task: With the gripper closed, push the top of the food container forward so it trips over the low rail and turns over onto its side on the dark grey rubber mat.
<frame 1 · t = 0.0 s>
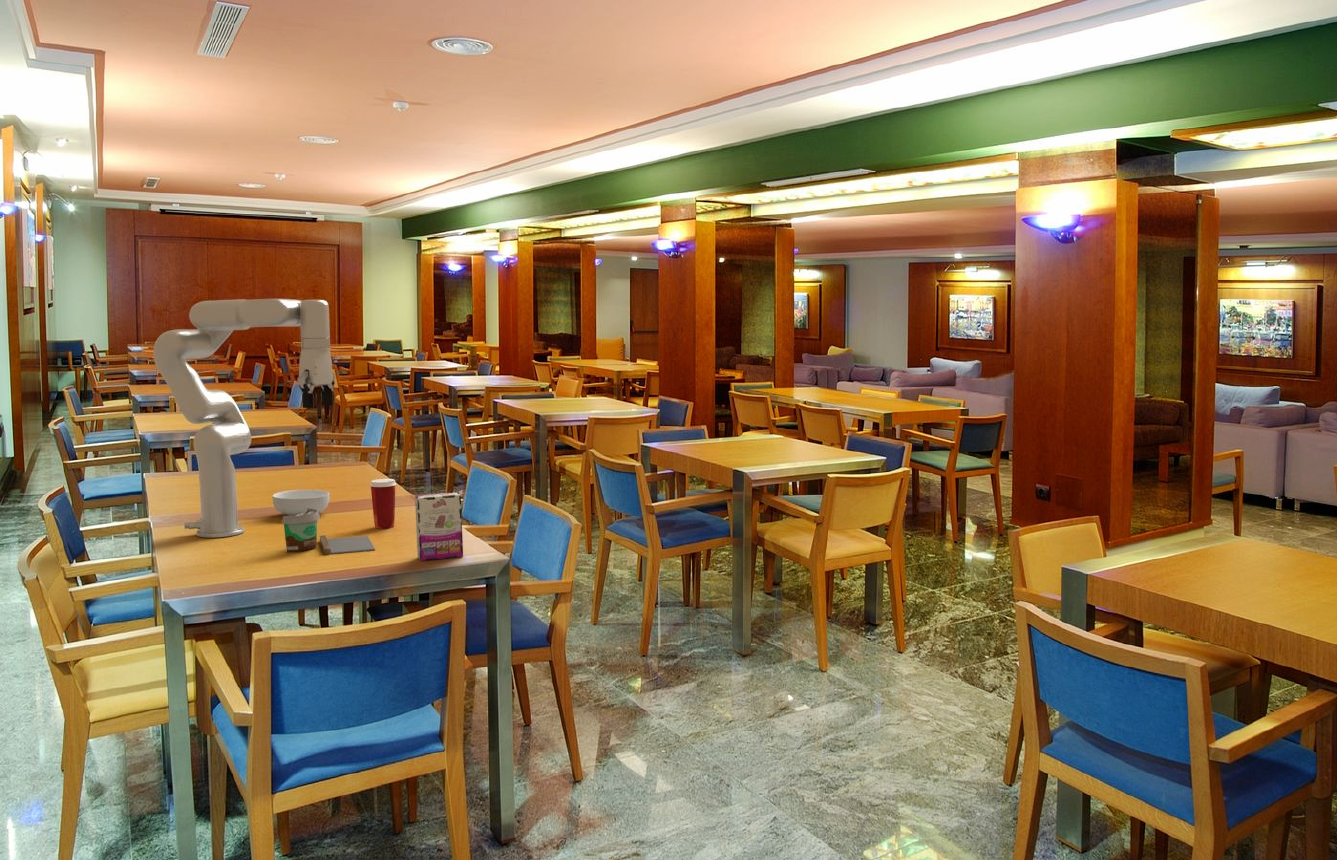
hand: (318, 406, 271), 37 cm above the table, tool pointing down, fingers open, 9 cm apart
food container: (307, 549, 262), on the table
paper cup: (384, 527, 290), on the table
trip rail: (325, 547, 263), on the table
mat: (350, 545, 266), on the table
cereal bowl: (302, 516, 309), on the table
candy bar box: (439, 558, 252), on the table
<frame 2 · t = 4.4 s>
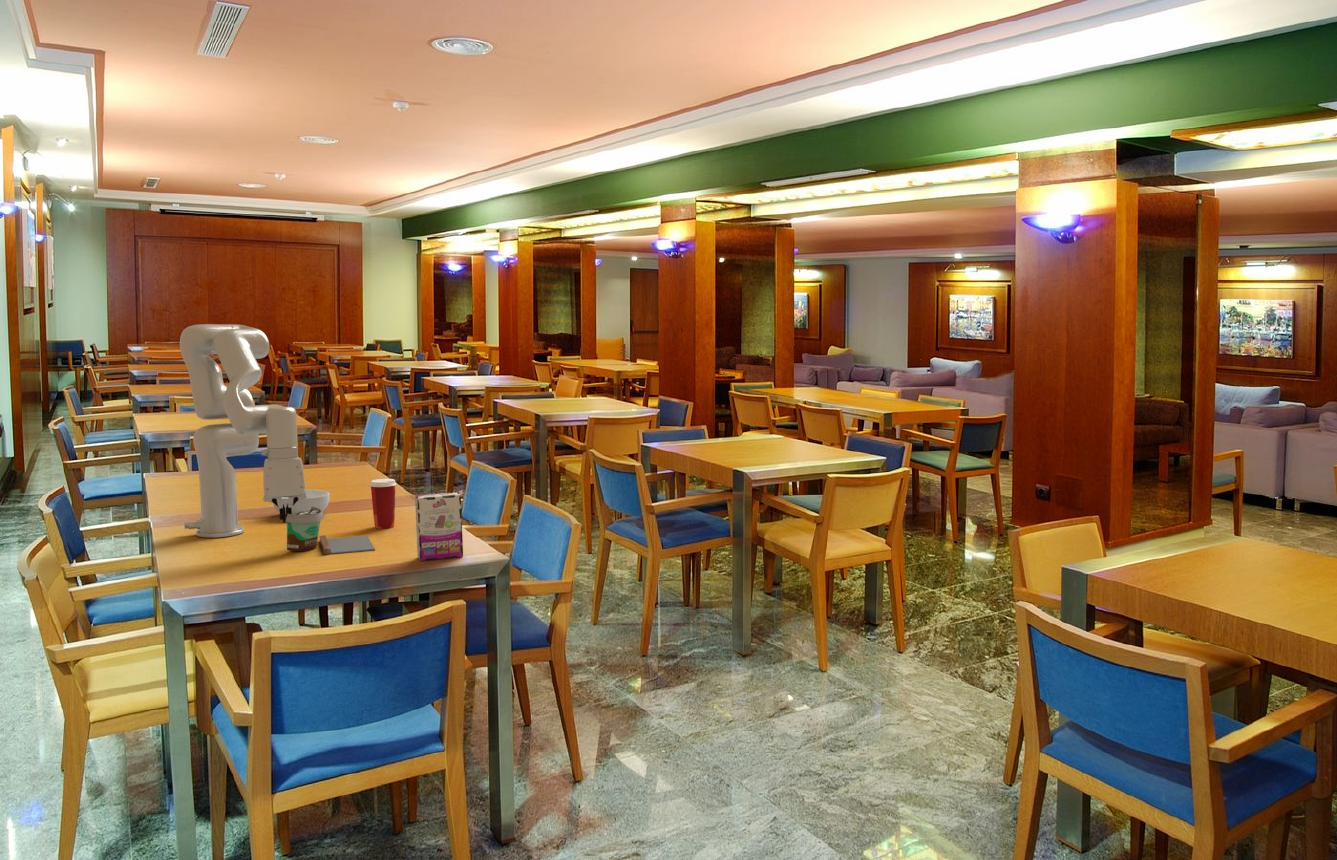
hand: (286, 522, 259), 8 cm above the table, tool pointing down, fingers closed
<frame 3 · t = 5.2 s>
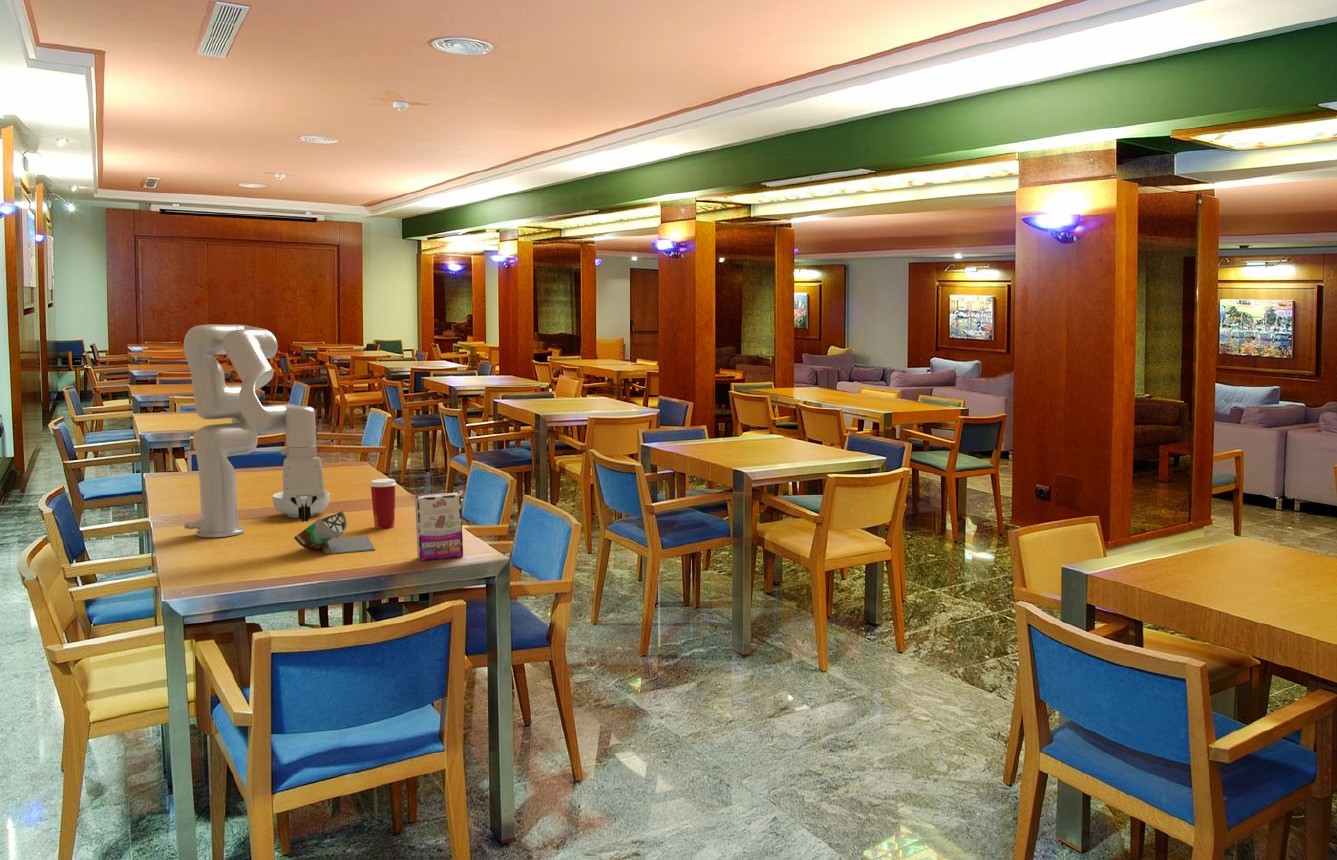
hand: (304, 520, 261), 8 cm above the table, tool pointing down, fingers closed
food container: (309, 543, 261), point 1 cm above the table
everything else where it was.
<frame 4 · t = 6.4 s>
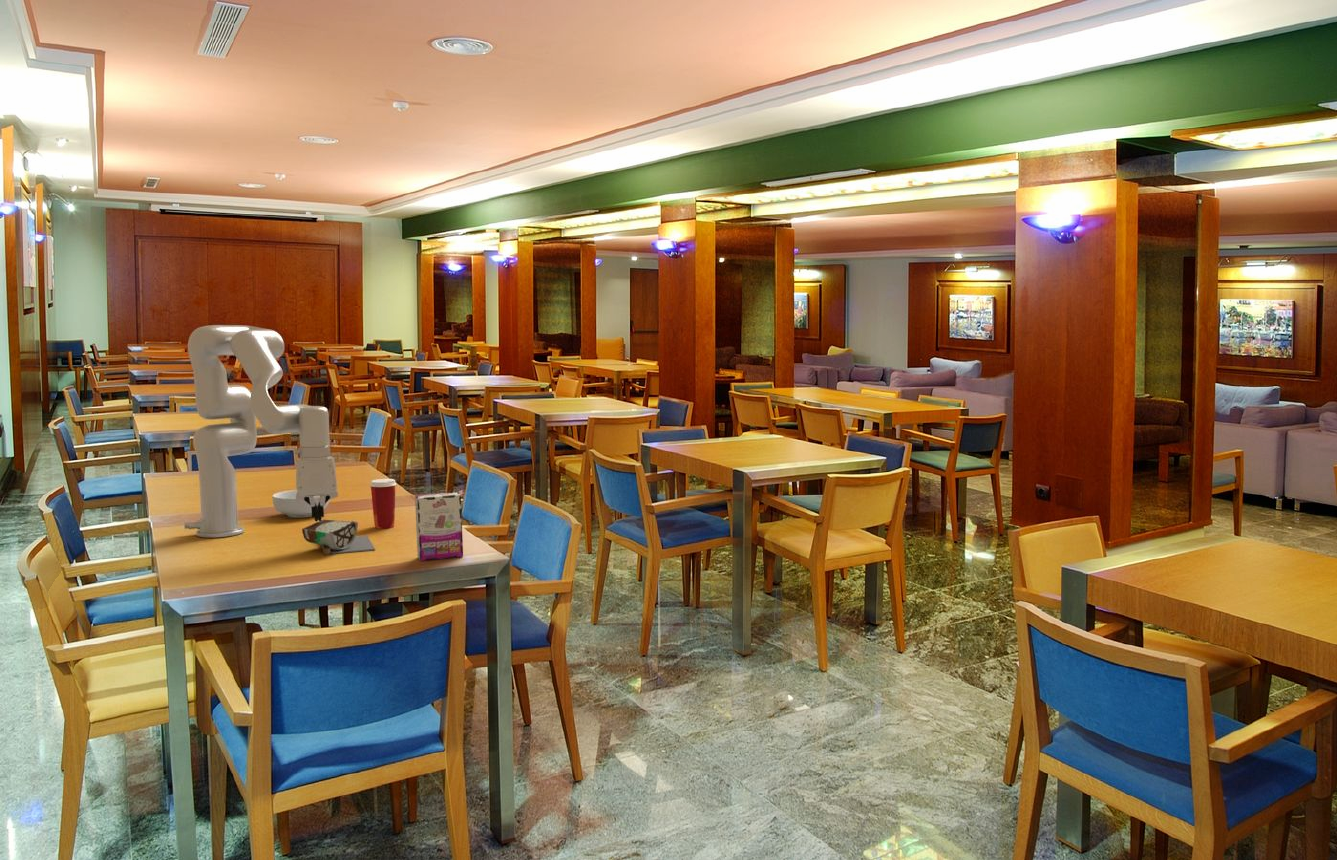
hand: (318, 520, 262), 8 cm above the table, tool pointing down, fingers closed
food container: (312, 535, 261), point 4 cm above the table, touching mat, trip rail
everything else where it was.
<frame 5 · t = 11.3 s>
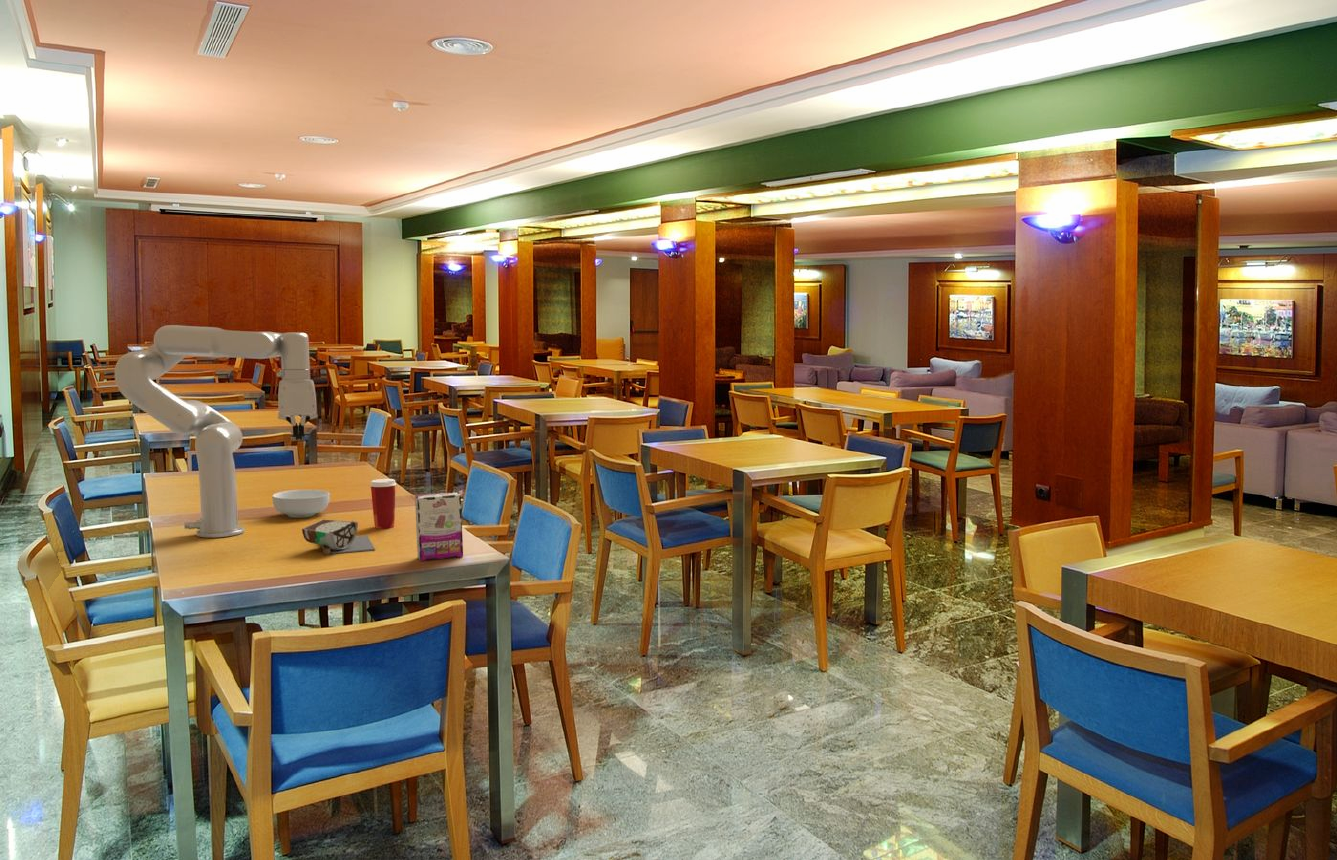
hand: (298, 439, 282), 27 cm above the table, tool pointing down, fingers closed
nothing on the table moved.
at the end: food container tilted 93°; food container inside the target area (9.0 cm from its centre), point 3.8 cm above the table; the gripper is holding nothing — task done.
